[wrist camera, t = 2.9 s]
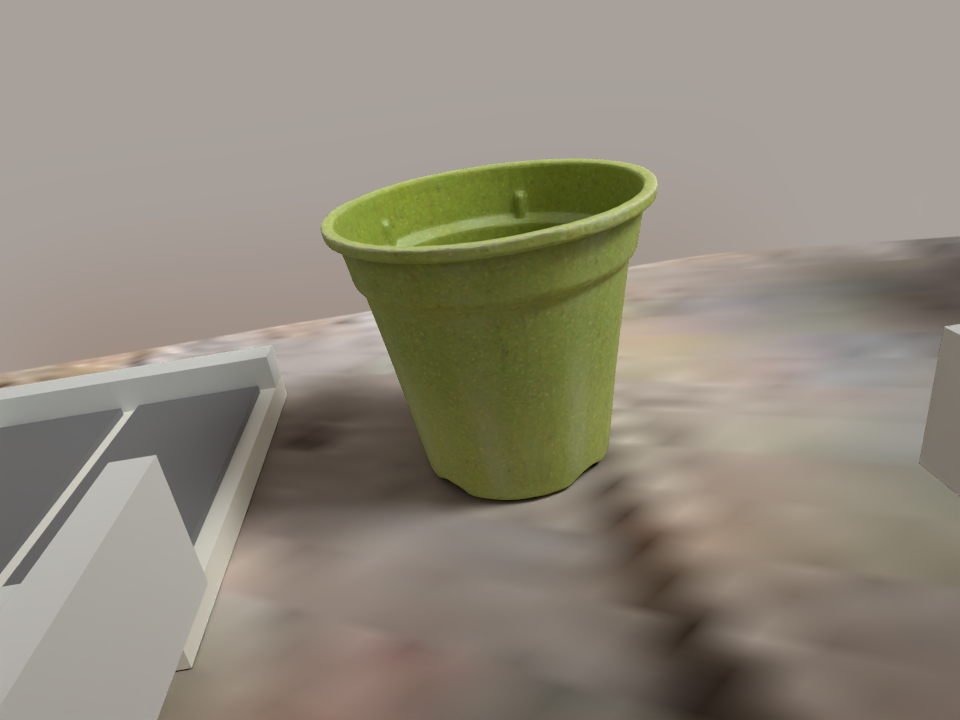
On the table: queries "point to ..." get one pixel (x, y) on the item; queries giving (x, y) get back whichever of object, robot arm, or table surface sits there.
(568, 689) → the table surface
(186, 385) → the box
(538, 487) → the plant pot
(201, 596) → the robot arm
